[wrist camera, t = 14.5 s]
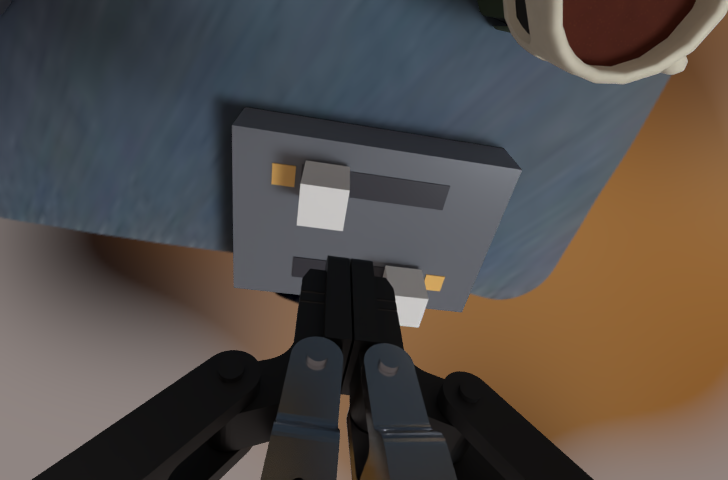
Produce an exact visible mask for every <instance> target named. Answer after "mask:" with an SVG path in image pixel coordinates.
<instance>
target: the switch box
mask: <svg viewBox="0 0 728 480" xmlns="http://www.w3.org/2000/svg"><path fill="white" fill-rule="evenodd" d="M306 160H307V161H313V162H320V163H327V164H334V165H341V166H347V167H350V192H349V198H348V204H347V210H346V216H345V221H344V227H343V231H337V230H329V229H321V228H313V227H306V226H298V225H297V216H298V205H299V194H300V183H301V179H302V175H303V170H304V166H305V162H306ZM521 171H522V169H521V168H520V167H519V166H518V165H517V163H516V162H515V161H514V160H513V159H512V157H511V156H510V155H509V154H508V153H507V151H506V150H505V149H503V148H497V147H491V146H485V145H479V144H472V143H466V142H460V141H454V140H447V139H441V138H435V137H429V136H422V135H416V134H410V133H404V132H397V131H391V130H385V129H379V128H373V127H366V126H360V125H354V124H348V123H341V122H335V121H329V120H323V119H316V118H310V117H304V116H298V115H291V114H285V113H279V112H273V111H267V110H260V109H254V108H248V107H245V108H244V109H243V111H242V112H241V113H240V115H239V116H238V118H237V119H236V120H235V122H234V123H233V124H232V176H233V261H234V288H243V289H251V290H261V291H270V292H279V293H288V294H297V295H300V292H301V285H302V278H303V277H304V276H305V274H306V273H307V272H308V271H309V269H318V270H325V266H326V260H327V256H328V255H330V256H338V257H345V258H349V259H351V258H354V259H362V260H369V261H373V268H374V276H376V277H383V274H384V270H385V266H394V267H402V268H411V269H419V270H422V273H423V277H424V282H425V286H426V290H427V295H428V299H429V300H428V302H427V305H426V308H427V309H437V310H446V311H455V312H462V310H463V308H464V306H465V303H466V301H467V299H468V297H469V294H470V292H471V289H472V287H473V285H474V282H475V280H476V278H477V275H478V273H479V271H480V268H481V266H482V263H483V261H484V259H485V256H486V254H487V252H488V249H489V247H490V245H491V242H492V240H493V237H494V235H495V233H496V230H497V228H498V226H499V223H500V221H501V219H502V216H503V214H504V211H505V209H506V207H507V204H508V202H509V200H510V197H511V195H512V193H513V190H514V188H515V186H516V183H517V181H518V178H519V176H520V174H521Z"/></svg>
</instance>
